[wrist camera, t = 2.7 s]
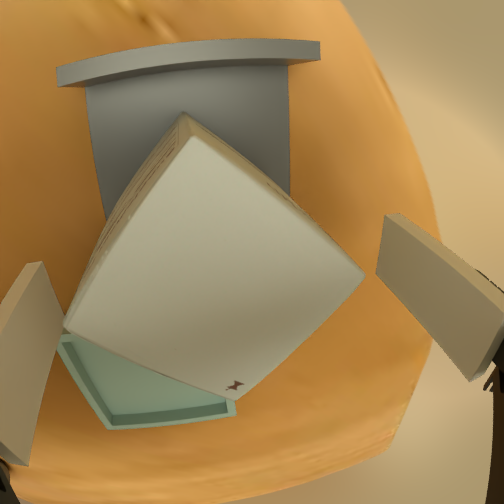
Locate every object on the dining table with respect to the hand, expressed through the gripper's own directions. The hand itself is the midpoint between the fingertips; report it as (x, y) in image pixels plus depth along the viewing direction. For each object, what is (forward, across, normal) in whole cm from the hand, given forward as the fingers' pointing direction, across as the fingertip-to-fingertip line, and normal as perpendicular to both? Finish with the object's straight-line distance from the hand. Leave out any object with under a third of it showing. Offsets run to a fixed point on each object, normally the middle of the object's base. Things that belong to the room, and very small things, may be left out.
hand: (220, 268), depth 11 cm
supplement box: (+10, -1, 0) cm, 11 cm away
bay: (+10, -1, 0) cm, 10 cm away
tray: (+10, -7, -16) cm, 20 cm away
